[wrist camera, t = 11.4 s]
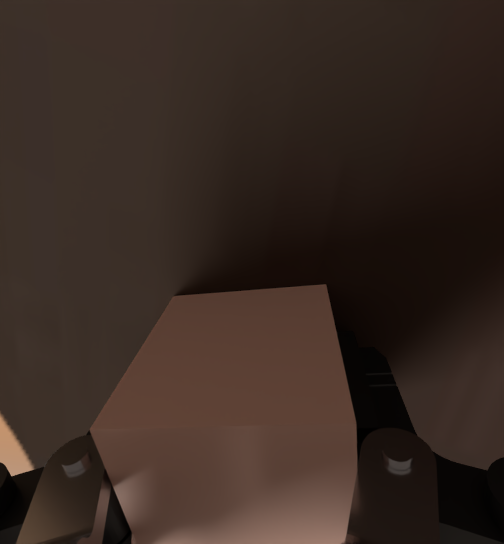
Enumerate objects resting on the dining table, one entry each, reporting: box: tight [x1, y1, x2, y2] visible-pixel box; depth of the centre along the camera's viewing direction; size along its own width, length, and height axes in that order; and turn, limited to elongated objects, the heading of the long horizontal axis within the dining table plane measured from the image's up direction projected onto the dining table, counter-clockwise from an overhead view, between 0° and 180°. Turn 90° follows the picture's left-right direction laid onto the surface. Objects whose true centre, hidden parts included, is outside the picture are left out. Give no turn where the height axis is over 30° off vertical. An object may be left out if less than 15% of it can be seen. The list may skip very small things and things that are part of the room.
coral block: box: [90, 284, 358, 544], centre depth 9 cm, size 4×4×5 cm
